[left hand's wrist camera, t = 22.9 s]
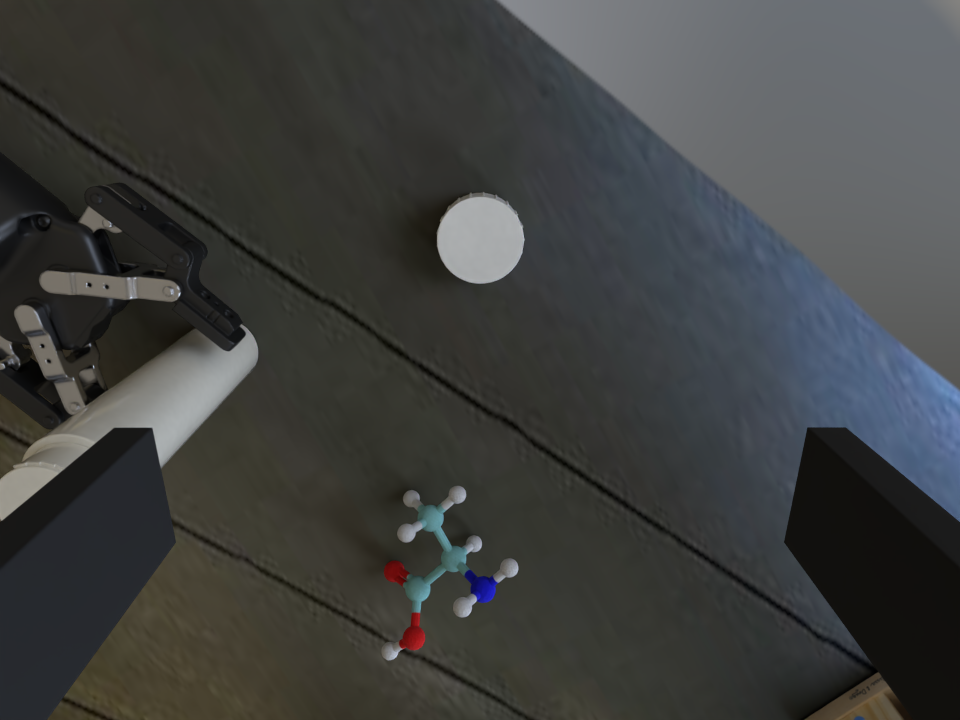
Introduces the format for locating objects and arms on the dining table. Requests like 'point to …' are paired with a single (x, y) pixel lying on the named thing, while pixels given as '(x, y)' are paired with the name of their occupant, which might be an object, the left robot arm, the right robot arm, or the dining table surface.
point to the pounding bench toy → (865, 703)
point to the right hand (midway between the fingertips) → (195, 392)
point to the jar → (139, 410)
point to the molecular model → (439, 568)
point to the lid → (480, 238)
